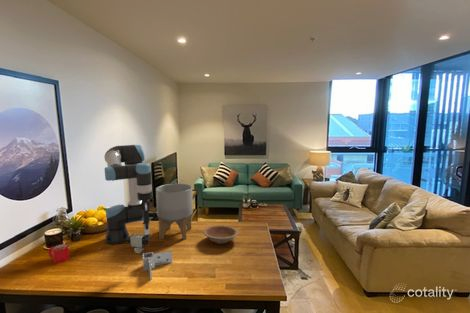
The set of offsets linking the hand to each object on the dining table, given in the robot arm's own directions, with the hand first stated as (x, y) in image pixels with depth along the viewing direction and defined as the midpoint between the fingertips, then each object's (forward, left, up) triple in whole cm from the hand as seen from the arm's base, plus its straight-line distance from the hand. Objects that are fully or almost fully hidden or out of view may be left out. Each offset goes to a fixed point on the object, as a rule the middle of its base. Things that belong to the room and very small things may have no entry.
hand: (146, 232), depth 144 cm
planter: (-37, +22, -21) cm, 48 cm away
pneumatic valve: (-20, -4, -21) cm, 29 cm away
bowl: (-13, +48, -21) cm, 54 cm away
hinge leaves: (+5, +5, -20) cm, 22 cm away
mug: (-30, -49, -21) cm, 61 cm away
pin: (0, 0, -4) cm, 4 cm away
